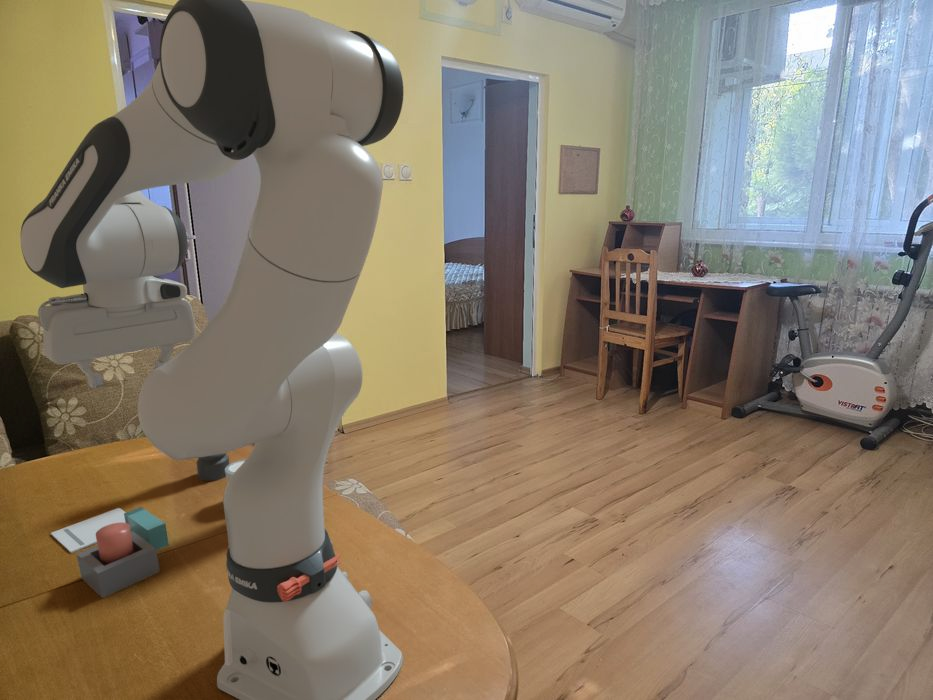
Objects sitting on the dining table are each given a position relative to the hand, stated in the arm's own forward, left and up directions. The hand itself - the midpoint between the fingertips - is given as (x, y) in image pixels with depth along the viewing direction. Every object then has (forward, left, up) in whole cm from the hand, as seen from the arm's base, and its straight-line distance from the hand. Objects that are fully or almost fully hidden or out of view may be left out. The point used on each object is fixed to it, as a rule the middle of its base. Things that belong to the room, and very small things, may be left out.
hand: (129, 378), depth 91 cm
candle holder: (+18, -20, -29) cm, 40 cm away
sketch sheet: (+14, +4, -29) cm, 32 cm away
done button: (-4, +7, -26) cm, 27 cm away
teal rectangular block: (+3, 0, -29) cm, 29 cm away
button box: (-4, +7, -29) cm, 30 cm away
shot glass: (+2, -18, -29) cm, 34 cm away
